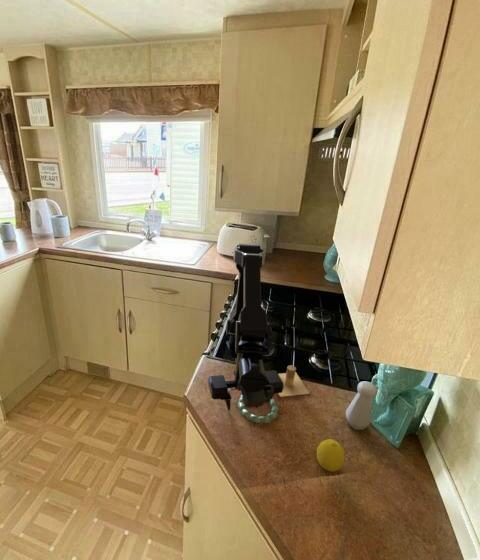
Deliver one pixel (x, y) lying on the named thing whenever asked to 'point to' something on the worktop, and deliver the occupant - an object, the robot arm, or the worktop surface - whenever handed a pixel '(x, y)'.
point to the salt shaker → (361, 406)
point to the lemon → (330, 455)
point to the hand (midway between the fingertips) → (242, 407)
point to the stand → (292, 383)
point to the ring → (259, 419)
